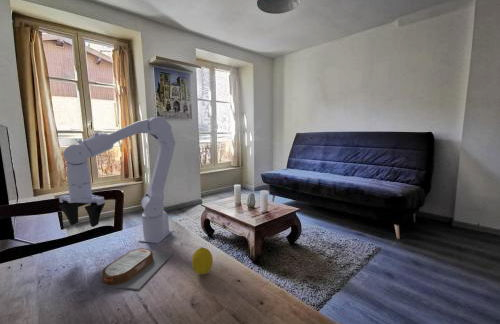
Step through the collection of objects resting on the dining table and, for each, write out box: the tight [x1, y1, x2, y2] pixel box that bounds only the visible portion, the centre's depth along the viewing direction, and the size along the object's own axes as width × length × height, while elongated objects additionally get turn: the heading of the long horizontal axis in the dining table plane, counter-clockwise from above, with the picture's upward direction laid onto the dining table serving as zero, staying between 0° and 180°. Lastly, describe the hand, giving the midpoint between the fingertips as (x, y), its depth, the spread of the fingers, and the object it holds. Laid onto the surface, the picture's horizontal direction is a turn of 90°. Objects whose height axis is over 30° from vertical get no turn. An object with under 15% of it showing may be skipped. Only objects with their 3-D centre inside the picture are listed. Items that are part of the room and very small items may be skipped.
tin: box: [101, 247, 153, 286], centre depth 69 cm, size 15×3×8 cm
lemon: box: [191, 246, 214, 276], centre depth 66 cm, size 6×6×8 cm
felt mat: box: [100, 251, 173, 291], centre depth 70 cm, size 17×11×1 cm, turn 170°
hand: (84, 224), depth 76 cm, fingers open, 7 cm apart
